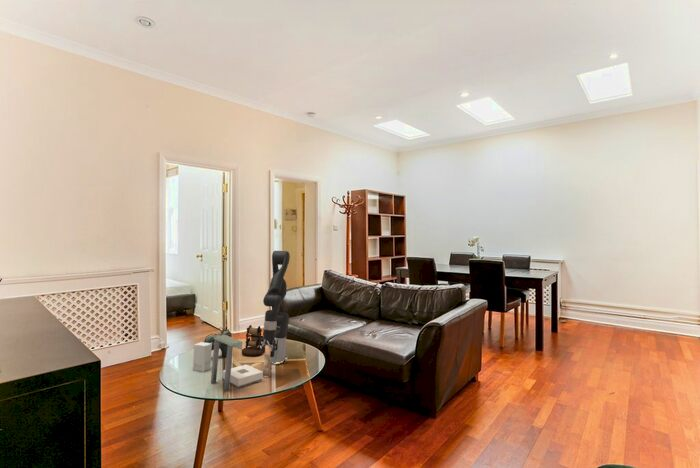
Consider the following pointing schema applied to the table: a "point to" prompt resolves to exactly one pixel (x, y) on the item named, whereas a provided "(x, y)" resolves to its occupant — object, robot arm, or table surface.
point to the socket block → (243, 375)
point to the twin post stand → (231, 343)
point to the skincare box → (202, 356)
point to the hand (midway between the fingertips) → (267, 355)
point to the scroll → (252, 341)
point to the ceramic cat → (222, 345)
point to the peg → (266, 365)
